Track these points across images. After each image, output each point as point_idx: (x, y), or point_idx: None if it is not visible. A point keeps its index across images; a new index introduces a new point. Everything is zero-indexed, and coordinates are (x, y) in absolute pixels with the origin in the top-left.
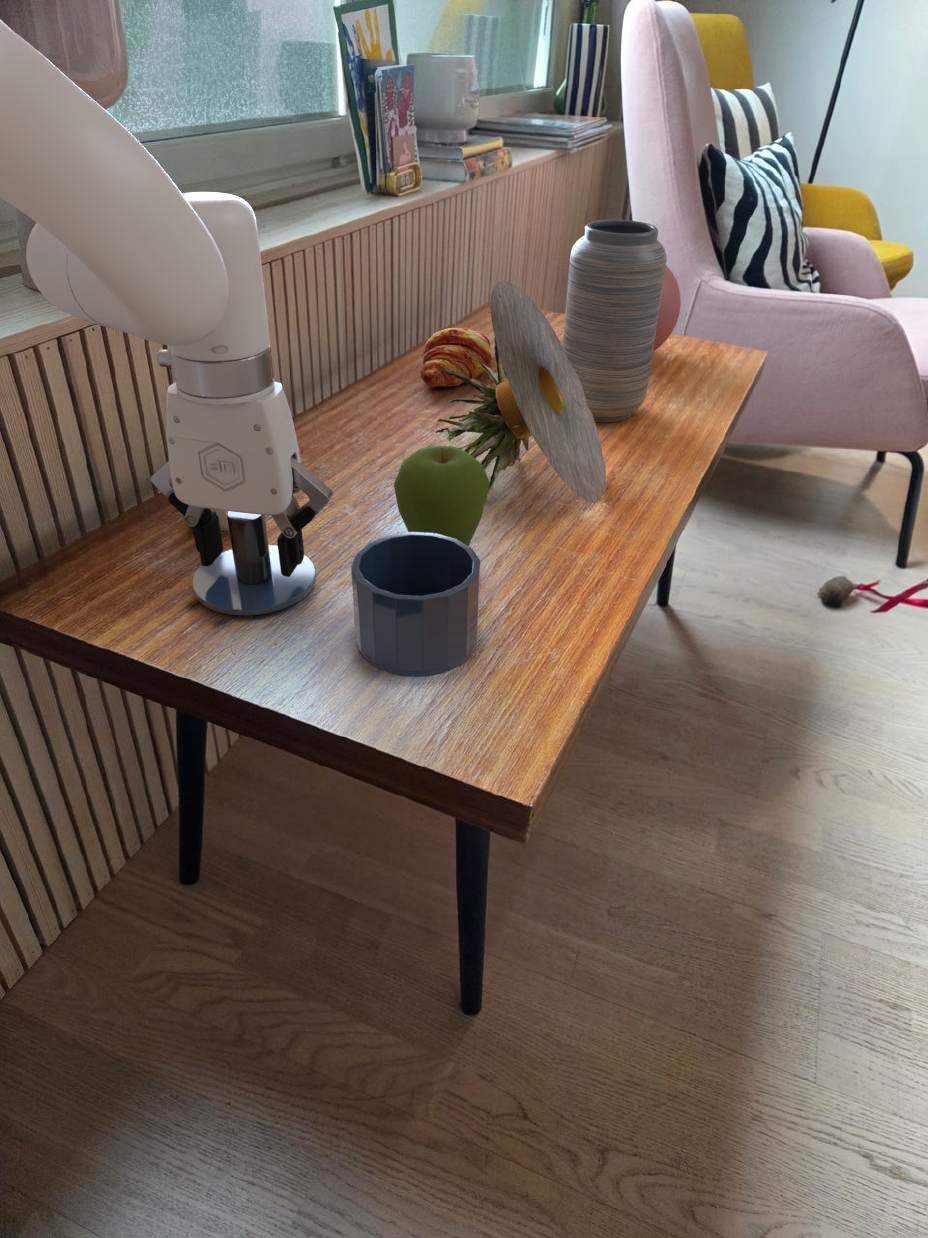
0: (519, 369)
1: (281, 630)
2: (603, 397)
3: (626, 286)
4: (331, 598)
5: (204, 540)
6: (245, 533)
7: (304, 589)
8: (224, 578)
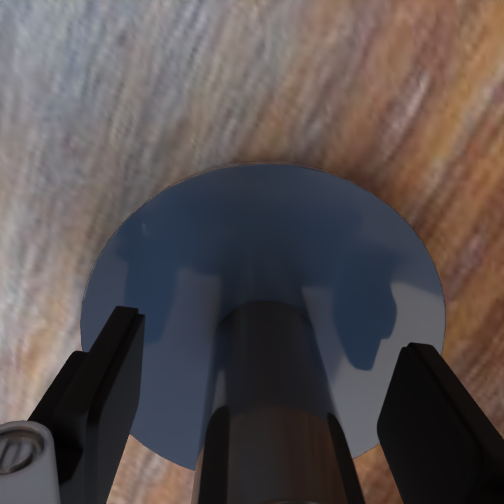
0: None
1: (126, 118)
2: None
3: None
4: (34, 289)
5: (452, 414)
6: (264, 441)
7: (90, 290)
8: (350, 326)
